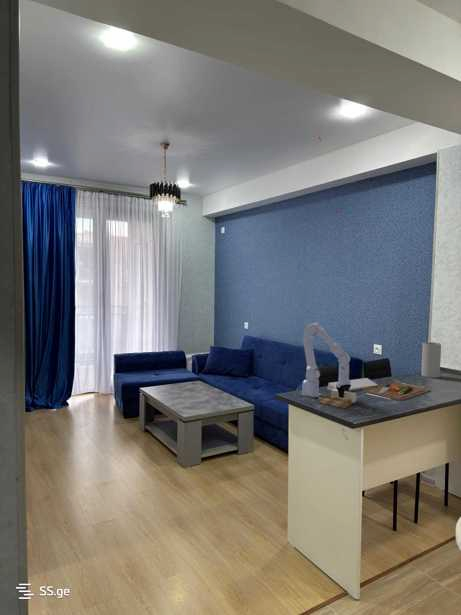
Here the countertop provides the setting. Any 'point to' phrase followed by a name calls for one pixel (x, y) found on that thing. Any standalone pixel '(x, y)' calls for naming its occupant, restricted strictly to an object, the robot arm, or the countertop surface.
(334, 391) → the light grey rectangular block
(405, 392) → the chopping board
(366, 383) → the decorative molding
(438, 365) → the cylinder vase
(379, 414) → the countertop surface
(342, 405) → the oak rack
